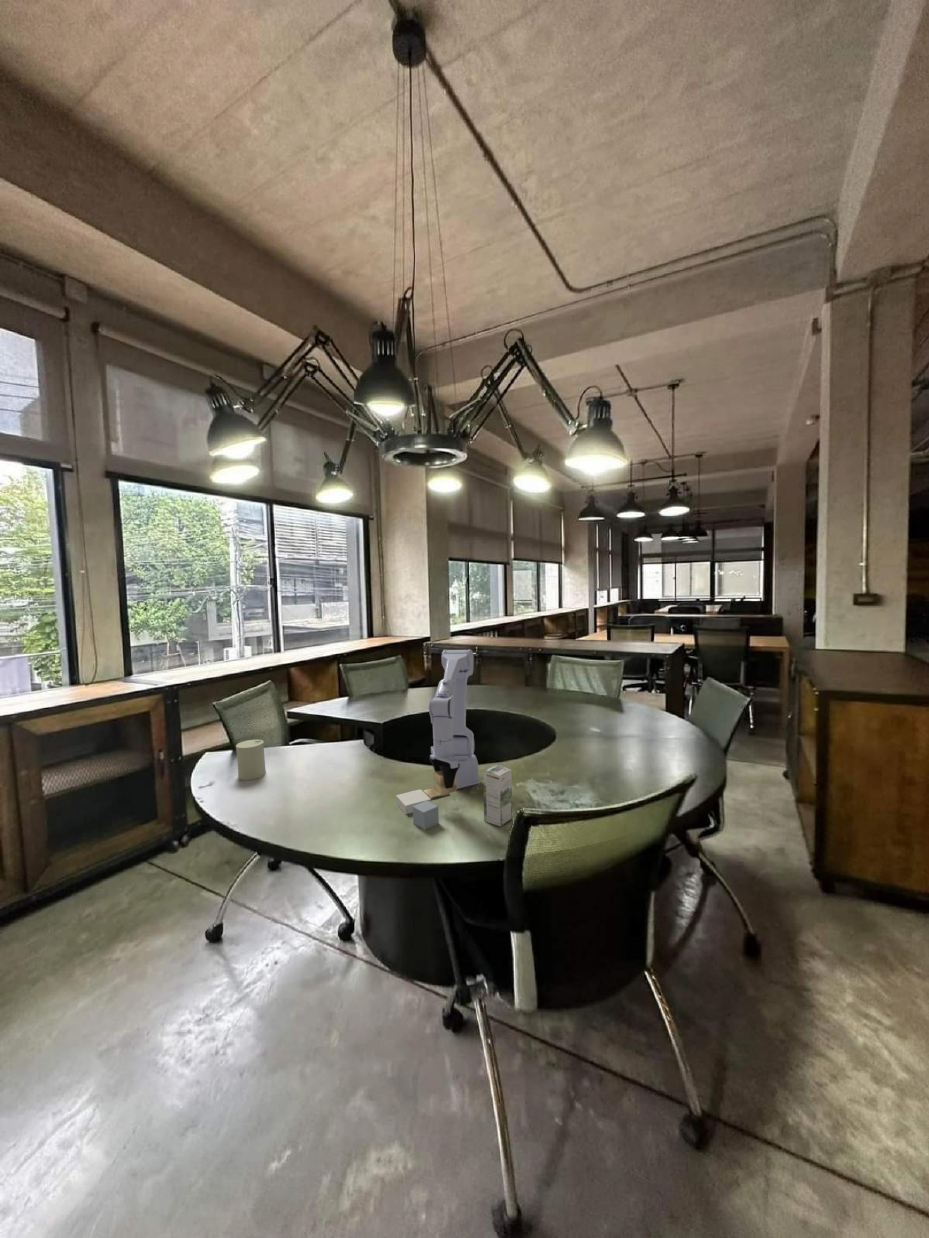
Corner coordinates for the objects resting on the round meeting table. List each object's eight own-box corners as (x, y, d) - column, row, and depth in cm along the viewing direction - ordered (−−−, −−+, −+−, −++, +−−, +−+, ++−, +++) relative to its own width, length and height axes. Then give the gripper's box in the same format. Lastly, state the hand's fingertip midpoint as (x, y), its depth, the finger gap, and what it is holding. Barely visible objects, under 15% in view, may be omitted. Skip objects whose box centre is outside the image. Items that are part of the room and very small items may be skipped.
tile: (441, 787, 160) (441, 785, 160) (450, 795, 154) (450, 793, 154) (421, 792, 157) (421, 790, 157) (430, 800, 151) (430, 798, 150)
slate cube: (427, 817, 140) (426, 800, 139) (438, 823, 136) (438, 806, 136) (413, 823, 137) (412, 806, 136) (424, 830, 133) (423, 812, 132)
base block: (421, 798, 153) (420, 789, 153) (431, 808, 146) (430, 799, 146) (396, 804, 149) (396, 795, 149) (405, 815, 142) (405, 805, 142)
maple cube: (449, 784, 146) (448, 768, 146) (456, 790, 142) (455, 774, 142) (433, 788, 144) (433, 772, 144) (440, 795, 140) (440, 778, 139)
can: (270, 774, 176) (268, 741, 175) (244, 782, 169) (242, 748, 168) (259, 767, 182) (257, 736, 181) (233, 775, 176) (231, 742, 175)
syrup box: (496, 813, 141) (494, 764, 139) (513, 819, 137) (511, 768, 136) (483, 821, 136) (482, 770, 135) (501, 827, 132) (499, 775, 131)
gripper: (420, 734, 146) (422, 778, 148) (441, 748, 134) (443, 796, 135) (442, 730, 150) (444, 773, 151) (464, 743, 137) (465, 790, 138)
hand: (445, 784), depth 143 cm, fingers closed on maple cube, 5 cm apart
